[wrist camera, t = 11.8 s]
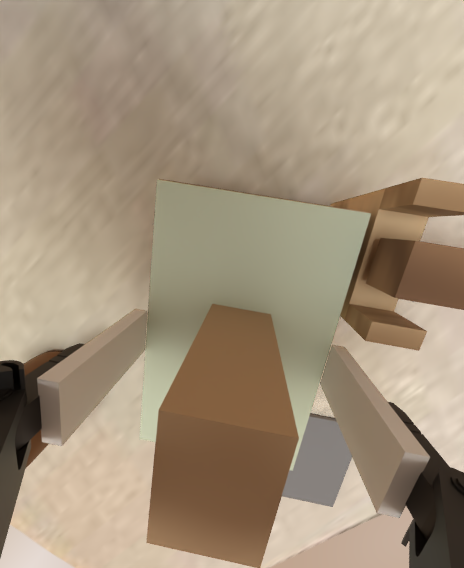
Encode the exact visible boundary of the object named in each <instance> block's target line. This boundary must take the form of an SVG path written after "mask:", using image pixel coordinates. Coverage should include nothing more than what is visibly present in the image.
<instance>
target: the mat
mask: <svg viewBox="0 0 464 568" xmlns="http://www.w3.org/2000/svg"><path fill="white" fill-rule="evenodd" d="M351 458H352V455H351V453H350V450H349V448H348V446H347V444H346V441H345V439H344V437H343V435H342V432H341V430H340V428H339V425H338V423H337V421H336V419H335V418H330V417H325V416H320V415H315V414H310V416H309V419H308V422H307V425H306V429H305V432H304V435H303V438H302V442H301V445H300V448H299V452H298V455H297V458H296V461H295V465H294V468H293V471H291V470H289V473H288V476H287V480H286V483H285V486H284V490H283V493H282V496H283V497H288V498H293V499H298V500H302V501H307V502H312V503H316V504H321V505H326V506H330V507H333V505H334V502H335V500H336V497H337V494H338V492H339V489H340V487H341V484H342V482H343V479H344V476H345V474H346V471H347V469H348V466H349V464H350V461H351Z"/></svg>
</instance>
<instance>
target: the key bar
mask: <svg viewBox="0 0 464 568" xmlns="http://www.w3.org/2000/svg"><path fill="white" fill-rule="evenodd" d="M366 284H368V285H370V286H372V287H374V288H376V289H378V290H380V291H382V292H384V293H386V294H388V295H390V296H392V297H394V298H398V299H404V300H410V301H415V302H421V303H427V304H433V305H439V306H444V307H450V308H456V309H462V310H464V249H463V248H457V247H451V246H445V245H438V244H432V243H426V242H420V241H412V240H400V239H389V238H380V241H379V244H378V247H377V250H376V253H375V256H374V259H373V262H372V265H371V268H370V272H369V275H368V278H367V281H366Z"/></svg>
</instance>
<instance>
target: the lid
mask: <svg viewBox="0 0 464 568" xmlns="http://www.w3.org/2000/svg"><path fill="white" fill-rule="evenodd" d="M370 216H371V213H364V212H358V211H352V210H346V209H339V208H333V207H327V206H320V205H314V204H308V203H302V202H295V201H289V200H283V199H276V198H270V197H264V196H258V195H251V194H245V193H239V192H233V191H226V190H220V189H214V188H207V187H201V186H195V185H189V184H182V183H176V182H170V181H163V180H157V185H156V200H155V215H154V230H153V245H152V260H151V275H150V290H149V305H148V319H147V334H146V349H145V364H144V379H143V394H142V409H141V424H140V439H142V440H147V441H152V442H156V444H155V455H154V466H153V477H152V488H151V499H150V510H149V521H148V532H147V543H150V544H154V545H159V546H163V547H168V548H172V549H177V550H181V551H185V552H190V553H194V554H199V555H203V556H208V557H212V558H216V559H221V560H225V561H230V562H234V563H238V564H243V565H247V566H252V567H256V568H260V566H261V563H262V560H263V556H264V553H265V550H266V546H267V543H268V540H269V536H270V533H271V530H272V526H273V523H274V520H275V516H276V513H277V510H278V506H279V503H280V500H281V496H282V493H283V490H284V486H285V483H286V480H287V476H288V473H289V470H291V471H293V468H294V465H295V461H296V458H297V455H298V452H299V448H300V445H301V442H302V438H303V435H304V432H305V429H306V425H307V422H308V419H309V416H310V412H311V409H312V406H313V403H314V399H315V396H316V393H317V389H318V386H319V383H320V380H321V376H322V373H323V370H324V367H325V363H326V360H327V357H328V353H329V350H330V347H331V344H332V340H333V337H334V334H335V331H336V327H337V324H338V321H339V317H340V314H341V311H342V308H343V304H344V301H345V298H346V295H347V291H348V288H349V285H350V281H351V278H352V275H353V272H354V268H355V265H356V262H357V259H358V255H359V252H360V249H361V245H362V242H363V239H364V236H365V232H366V229H367V226H368V223H369V219H370Z"/></svg>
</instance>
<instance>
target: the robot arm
mask: <svg viewBox="0 0 464 568" xmlns="http://www.w3.org/2000/svg"><path fill="white" fill-rule="evenodd" d="M146 325H147V311H145V310H139V309H134V310H133V311H132V312H130V313H129V314H127V315H126V316H125V317H123V318H122V319H120V320H119V321H117V322H116V323H115V324H113V325H112V326H110V327H109V328H108V329H106V330H105V331H103V332H102V333H100V334H99V335H98V336H96V337H95V338H93V339H92V340H91V341H89V342H88V343H86V344H77V345H74V346H72V347H69V348H67V349H65V350H64V351H62V352H61V353H59V354H58V355H57V356H55V357H53V358H52V359H50V360H49V362H46V363H44V364H42V365H41V366H39V367H38V368H36V369H35V370H33V371H32V372H30V373H29V374H27V375H26V376H25V371H24V364H22V363H21V362H19V361H14V360H9V361H0V557H1V554H2V550H3V546H4V543H5V539H6V536H7V532H8V529H9V525H10V522H11V518H12V514H13V511H14V507H15V504H16V500H17V496H18V493H19V489H20V486H21V482H22V478H23V475H24V471H25V468H26V464H27V460H28V457H29V453H30V450H31V439H32V438H33V437H34V436H35V435H36V434H37V433H38V432H39V431H40V430H41V437H42V442H44V443H49V444H53V445H58V446H62V445H63V444H64V443H65V442H66V441H67V440H68V439H69V437H70V436H71V435H72V434H73V433H74V432H75V430H76V429H77V428H78V427H79V426H80V425H81V423H82V422H83V421H84V420H85V419H86V418H87V417H88V415H89V414H90V413H91V412H92V411H93V410H94V408H95V407H96V406H97V405H98V404H99V403H100V401H101V400H102V399H103V398H104V397H105V396H106V394H107V393H108V392H109V391H110V390H111V389H112V388H113V386H114V385H115V384H116V383H117V382H118V381H119V379H120V378H121V377H122V376H123V375H124V374H125V372H126V371H127V370H128V369H129V368H130V367H131V366H132V364H133V363H134V362H135V361H136V360H137V359H138V357H139V356H140V355H141V354H142V353H143V352H144V350H145V340H146ZM320 384H321V387H322V389H323V391H324V393H325V396H326V398H327V400H328V403H329V405H330V407H331V409H332V412H333V414H334V416H335V419H336V421H337V423H338V425H339V428H340V430H341V432H342V435H343V437H344V439H345V441H346V444H347V446H348V448H349V450H350V453H351V455H352V457H353V460H354V462H355V464H356V466H357V469H358V471H359V473H360V476H361V478H362V480H363V482H364V485H365V487H366V489H367V491H368V494H369V496H370V498H371V501H372V503H373V505H374V507H375V510H376V512H377V513H379V514H383V515H388V516H393V517H398V518H400V516H401V514H402V512H403V510H404V508H405V506H407V508H408V509H409V511H410V513H411V514H412V517H413V518H414V519H413V521H412V522H411V524H410V526H409V528H408V530H407V532H406V534H405V536H404V538H403V540H402V544H403V545H404V546H406V545H407V543H408V541H410V546H409V548H410V549H409V550H410V551H409V555H410V556H409V568H464V473H463V472H461V471H458V470H456V469H454V468H450V467H449V466H448V464H447V463H446V462H445V461H444V460H443V458H442V457H441V456H440V455H439V453H438V452H437V451H436V450H435V449H434V447H433V446H432V445H431V444H430V443H429V441H428V440H427V439H426V438H425V437H424V435H423V434H421V432H420V430H419V429H418V428H417V427H416V426H415V425H414V423H413V422H412V421H411V420H410V418H409V417H408V416H407V415H406V414H405V412H403V411H402V410H401V409H400V408H399V407H397V406H396V405H395V404H394V403H391V402H387V401H386V400H385V398H384V397H383V396H382V394H381V393H380V392H379V391H378V389H377V388H376V387H375V385H374V384H373V383H372V382H371V380H370V379H369V378H368V376H367V375H366V374H365V372H364V371H363V370H362V369H361V367H360V366H359V365H358V363H357V362H356V361H355V360H354V358H353V357H352V356H351V354H350V353H349V352H348V351H347V349H346V348H345V347H341V346H335V345H332V347H331V350H330V353H329V356H328V360H327V363H326V366H325V369H324V373H323V376H322V379H321V382H320Z"/></svg>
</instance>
